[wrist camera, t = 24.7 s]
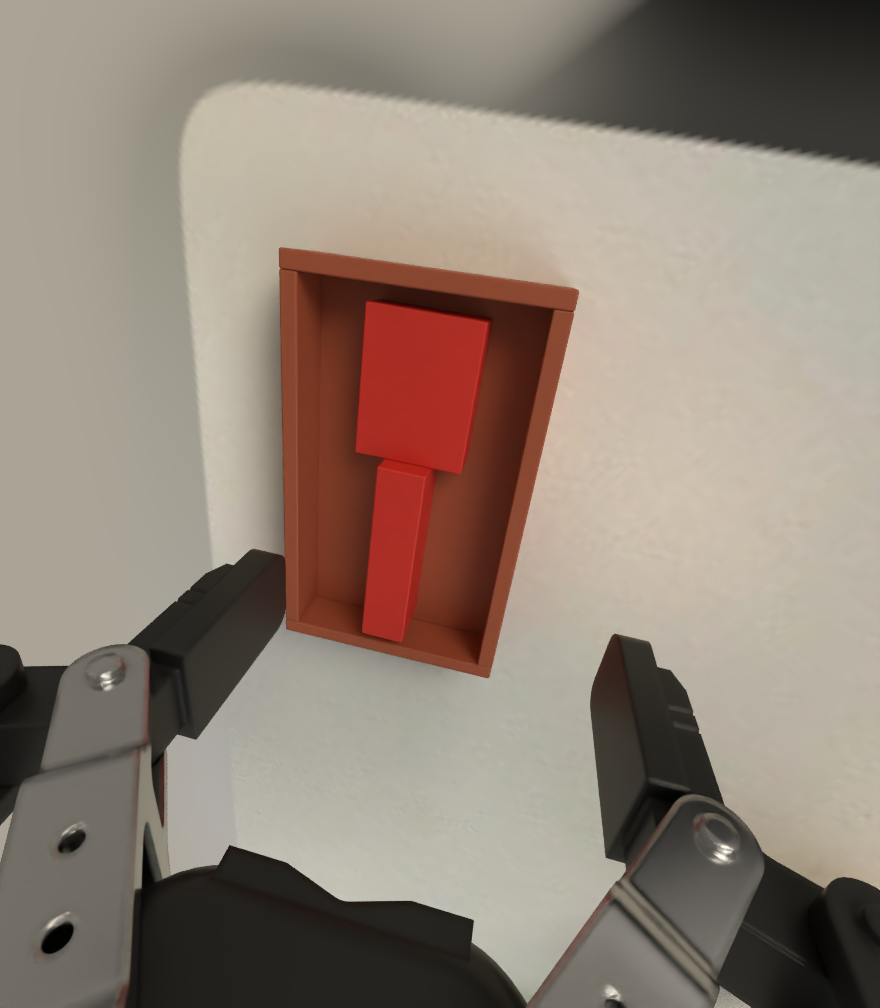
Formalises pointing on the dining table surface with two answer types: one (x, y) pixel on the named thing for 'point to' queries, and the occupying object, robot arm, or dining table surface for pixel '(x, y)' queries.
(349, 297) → the red tray
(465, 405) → the red spoon
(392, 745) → the dining table surface
